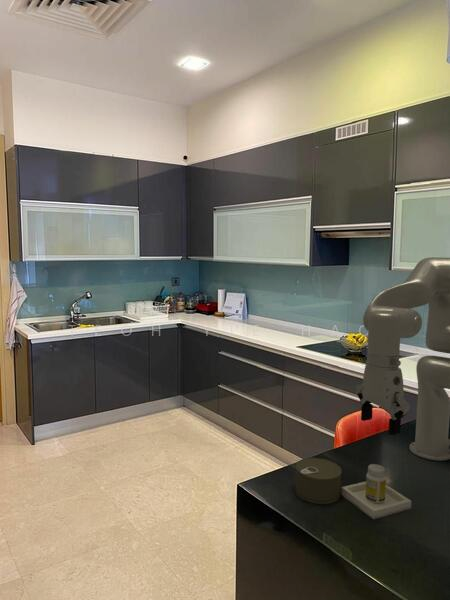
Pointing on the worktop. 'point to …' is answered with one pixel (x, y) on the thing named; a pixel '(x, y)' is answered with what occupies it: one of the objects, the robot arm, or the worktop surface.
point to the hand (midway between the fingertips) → (379, 426)
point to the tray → (376, 510)
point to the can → (318, 480)
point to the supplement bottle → (375, 484)
